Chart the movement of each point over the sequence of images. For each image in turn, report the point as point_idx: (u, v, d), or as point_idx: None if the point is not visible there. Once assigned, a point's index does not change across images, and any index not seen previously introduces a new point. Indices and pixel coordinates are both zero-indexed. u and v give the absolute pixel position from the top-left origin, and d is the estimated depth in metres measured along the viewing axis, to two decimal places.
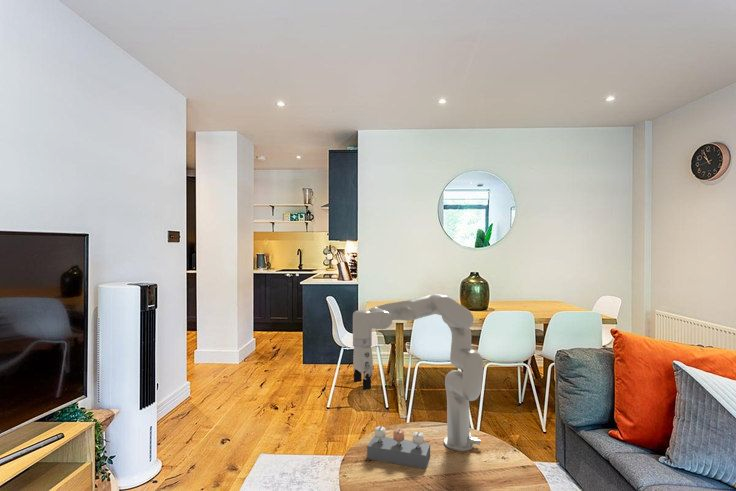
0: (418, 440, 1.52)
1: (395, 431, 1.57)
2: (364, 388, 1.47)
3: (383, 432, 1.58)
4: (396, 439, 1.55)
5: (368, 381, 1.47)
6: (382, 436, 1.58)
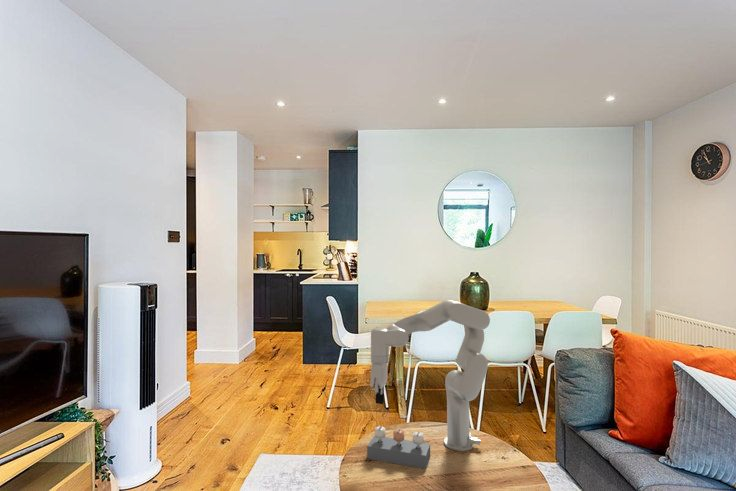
0: (418, 440, 1.52)
1: (395, 431, 1.57)
2: None
3: (383, 432, 1.58)
4: (396, 439, 1.55)
5: None
6: (382, 436, 1.58)
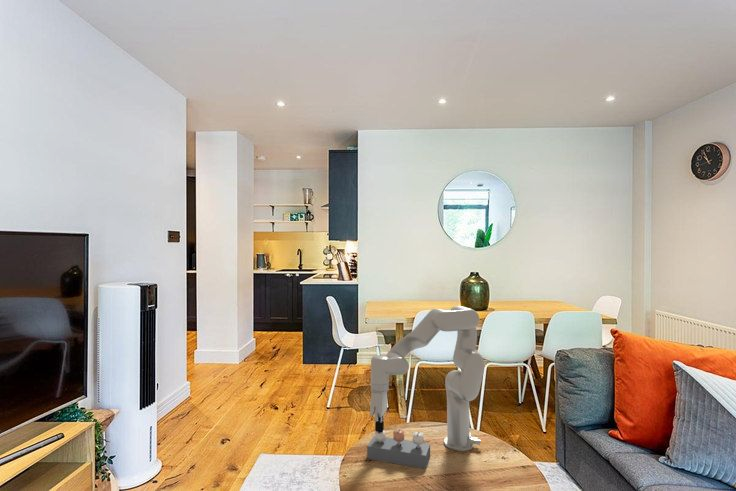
0: (418, 440, 1.52)
1: (395, 431, 1.57)
2: None
3: (383, 435, 1.58)
4: (396, 439, 1.55)
5: None
6: (382, 439, 1.58)
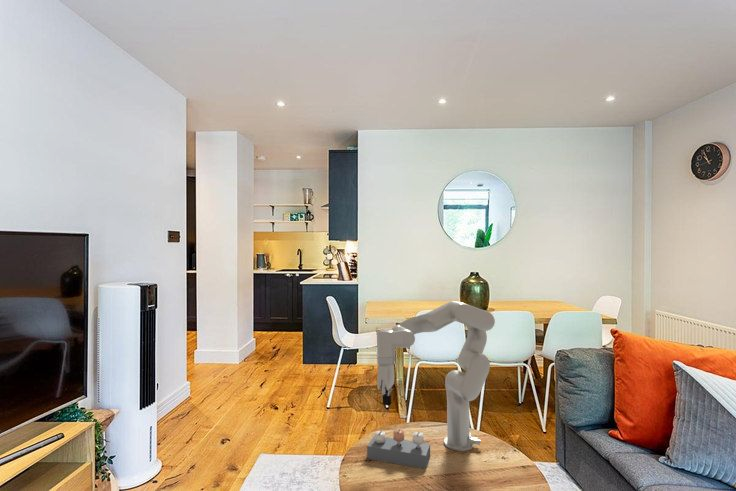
0: (418, 440, 1.52)
1: (395, 431, 1.57)
2: None
3: (383, 437, 1.58)
4: (396, 439, 1.55)
5: None
6: (382, 441, 1.58)
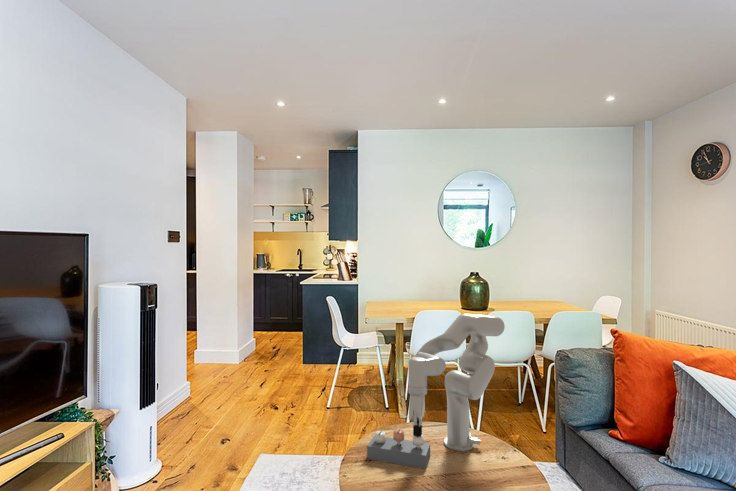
0: (418, 442, 1.52)
1: (395, 431, 1.57)
2: None
3: (383, 437, 1.58)
4: (396, 439, 1.55)
5: None
6: (382, 441, 1.58)
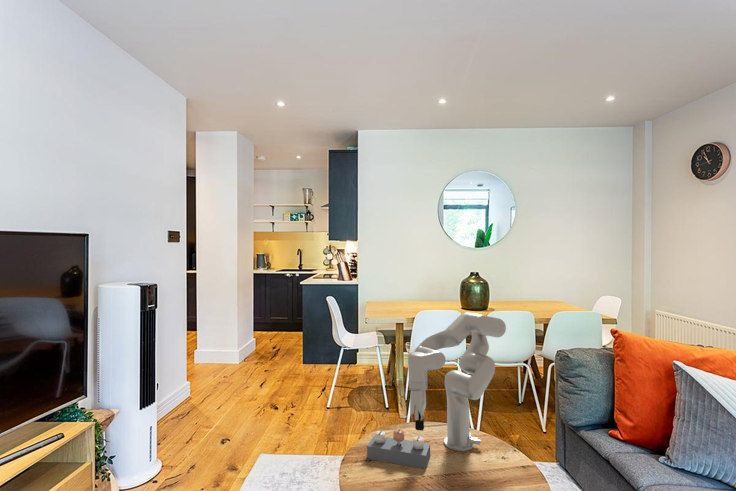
0: (418, 445, 1.52)
1: (395, 431, 1.57)
2: None
3: (383, 437, 1.58)
4: (396, 439, 1.55)
5: None
6: (382, 441, 1.58)
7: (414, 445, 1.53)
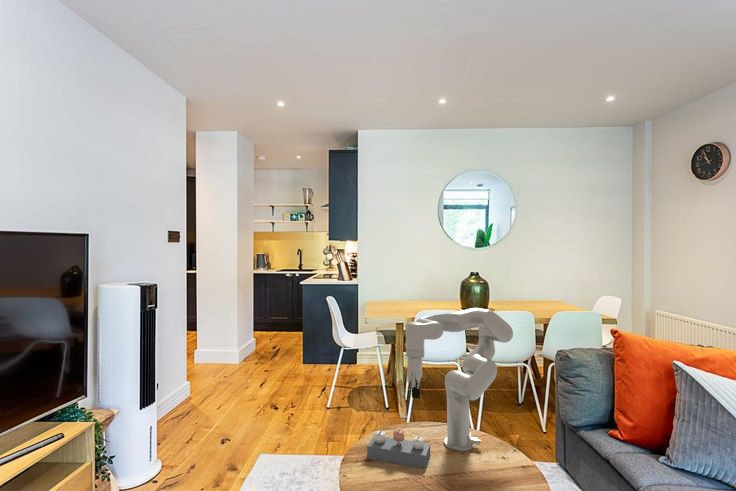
0: (418, 445, 1.52)
1: (395, 431, 1.57)
2: None
3: (383, 437, 1.58)
4: (396, 439, 1.55)
5: None
6: (382, 441, 1.58)
7: (414, 445, 1.53)
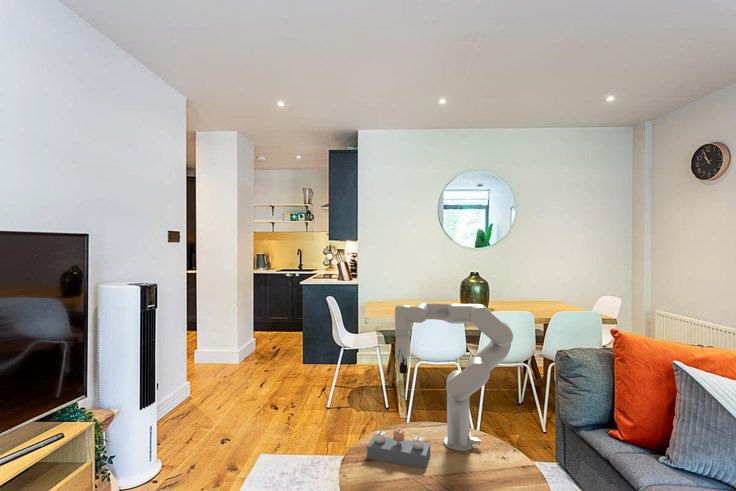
0: (418, 445, 1.52)
1: (395, 431, 1.57)
2: None
3: (383, 437, 1.58)
4: (396, 439, 1.55)
5: None
6: (382, 441, 1.58)
7: (414, 445, 1.53)
